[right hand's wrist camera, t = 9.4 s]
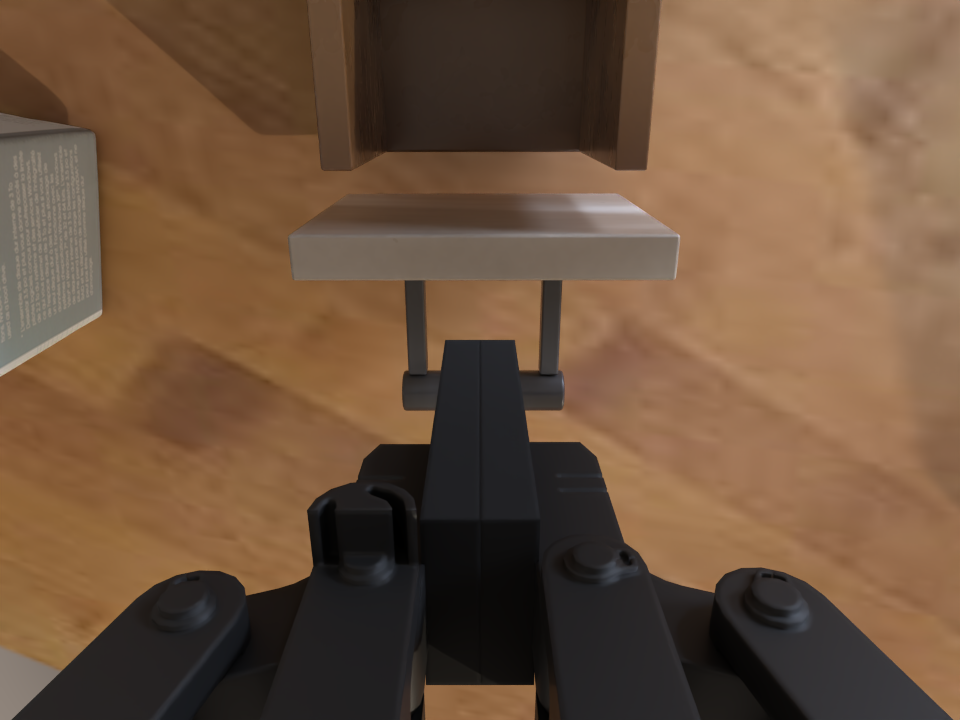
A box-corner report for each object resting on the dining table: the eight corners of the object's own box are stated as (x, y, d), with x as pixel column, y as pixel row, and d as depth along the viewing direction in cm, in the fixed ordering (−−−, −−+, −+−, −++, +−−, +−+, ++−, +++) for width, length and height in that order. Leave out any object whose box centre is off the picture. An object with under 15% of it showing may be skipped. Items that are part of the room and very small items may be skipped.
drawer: (606, 360, 27) (656, 462, 19) (358, 360, 27) (310, 463, 19) (670, -496, 18) (810, -936, 10) (296, -495, 18) (160, -933, 10)
